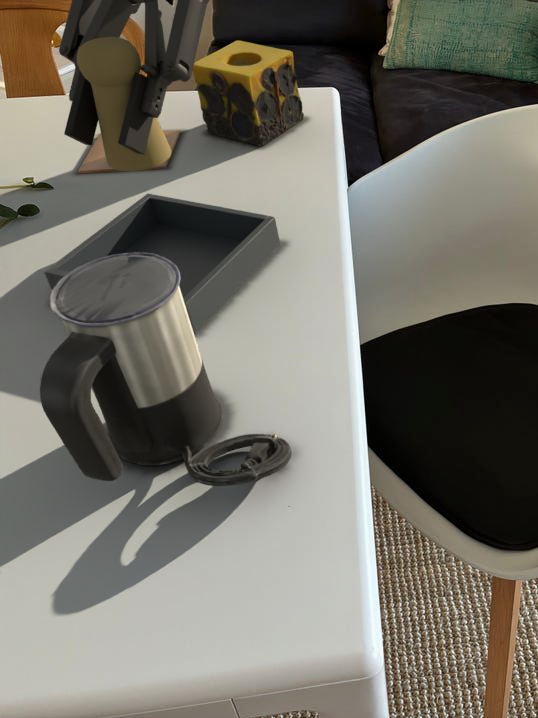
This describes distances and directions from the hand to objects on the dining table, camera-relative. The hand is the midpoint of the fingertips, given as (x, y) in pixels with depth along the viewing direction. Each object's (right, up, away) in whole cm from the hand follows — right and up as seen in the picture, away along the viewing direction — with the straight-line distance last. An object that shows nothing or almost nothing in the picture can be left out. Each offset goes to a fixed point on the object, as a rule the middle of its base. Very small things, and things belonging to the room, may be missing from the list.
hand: (104, 144), depth 71 cm
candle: (+2, +13, +40) cm, 42 cm away
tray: (+1, -10, +13) cm, 16 cm away
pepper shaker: (+1, 0, +5) cm, 5 cm away
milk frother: (+11, -27, -6) cm, 30 cm away
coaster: (-13, +8, +34) cm, 37 cm away
